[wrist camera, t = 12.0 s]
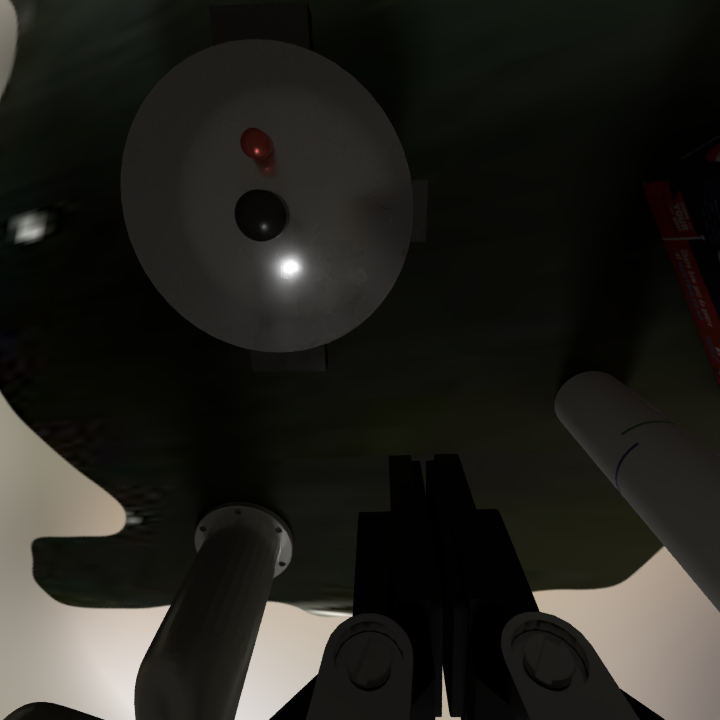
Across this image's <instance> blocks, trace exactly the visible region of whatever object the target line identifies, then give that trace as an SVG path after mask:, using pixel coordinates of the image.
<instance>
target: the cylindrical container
mask: <svg viewBox="0 0 720 720" xmlns="http://www.w3.org/2000/svg"><path fill="white" fill-rule="evenodd" d="M555 412H556V415H557V417H558V419H559V420H560V421H561V422H562V423H563V425H564V426H565V427H566V428H567V429H568V431H569V432H570V433H571V434H572V435H573V437H574V438H575V439H576V440H577V441H578V443H579V444H580V445H581V446H582V447H583V449H584V450H585V451H586V452H587V453H588V455H589V456H590V457H591V458H592V459H593V461H594V462H595V463H596V464H597V465H598V467H599V468H600V469H601V470H602V471H603V473H604V474H605V475H606V476H607V477H608V479H609V480H610V481H611V482H612V483H613V485H614V486H615V487H616V488H617V489H618V491H619V492H620V493H621V494H622V495H623V497H624V498H625V499H626V500H627V501H628V503H629V504H630V505H631V506H632V507H633V509H634V510H635V511H636V512H637V513H638V515H639V516H640V517H641V518H642V519H643V521H644V522H645V523H646V524H647V525H648V527H649V528H650V529H651V530H652V531H653V533H654V534H655V535H656V536H657V537H658V539H659V540H660V541H661V542H662V543H663V545H664V546H665V547H666V548H667V549H668V551H669V552H670V553H671V554H672V555H673V557H674V558H675V559H676V560H677V561H678V563H679V564H680V565H681V566H682V567H683V569H684V570H685V571H686V572H687V573H688V575H689V576H690V577H691V578H692V579H693V581H694V582H695V583H696V584H697V585H698V587H699V588H700V589H701V590H702V591H703V593H704V594H705V595H706V596H707V597H708V599H709V600H710V601H711V602H712V603H713V605H714V606H715V607H716V608H717V609H718V611H719V612H720V456H719V455H718V454H716V453H715V452H714V451H712V450H711V449H710V448H708V447H707V446H706V445H704V444H703V443H702V442H700V441H699V440H698V439H696V438H695V437H694V436H692V435H691V434H690V433H688V432H687V431H686V430H684V429H683V428H681V427H680V426H679V425H677V424H676V423H675V422H673V421H672V420H671V419H669V418H668V417H667V416H665V415H664V414H663V413H661V412H660V411H659V410H657V409H656V408H655V407H653V406H652V405H651V404H649V403H648V402H647V401H645V400H644V399H643V398H641V397H640V396H638V395H637V394H636V393H634V392H633V391H632V390H630V389H629V388H628V387H626V386H625V385H624V384H622V383H621V382H620V381H618V380H617V379H616V378H614V377H613V376H612V375H610V374H608V373H605V372H601V371H588V372H584V373H580V374H578V375H576V376H574V377H572V378H571V379H569V380H568V381H567V382H566V383H565V384H564V385H563V386H562V387H561V388H560V390H559V391H558V393H557V395H556V399H555Z"/></svg>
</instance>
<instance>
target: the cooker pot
mask: <svg viewBox="0 0 720 720" xmlns="http://www.w3.org/2000/svg"><path fill="white" fill-rule="evenodd" d="M209 9H210V17H211V25H212V34H213V42H214V46H215V45H219V44H222V43H226V42H229V41H237V40H246V39H263V40H275V41H280V42H285V43H290V44H295V45H297V46H300V47H303V48H305V49H308V50H311V51H313V42H312V21H311V12H310V9H309V6H308V3H307V2H300V3H276V4H251V5H227V6H209ZM411 184H412V190H413V211H414V213H413V224H412V234H411V238H410V242H413V241H426V220H427V192H428V180H411ZM250 356H251V365H252V371H326V369H327V366H328V352H327V343H326V344H323V345H321V346H318V347H315V348H311V349H306V350H301V351H294V352H280V353H279V352H262V351H257V350H251V349H250Z"/></svg>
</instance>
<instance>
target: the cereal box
mask: <svg viewBox="0 0 720 720" xmlns="http://www.w3.org/2000/svg"><path fill="white" fill-rule="evenodd" d="M641 186H642V189H643V191H644V194H645V198H646V200H647V203H648V205H649V207H650V209H651V212H652V214H653V217H654V219H655V222H656V224H657V227H658V230H659V232H660V235H661V237H662V240H663V242H664V245H665V248H666V250H667V253H668V255H669V258H670V260H671V263H672V266H673V268H674V271H675V273H676V276H677V278H678V281H679V283H680V286H681V289H682V291H683V294H684V296H685V299H686V302H687V304H688V307H689V309H690V312H691V315H692V317H693V320H694V322H695V325H696V327H697V330H698V332H699V335H700V338H701V340H702V343H703V345H704V348H705V350H706V353H707V355H708V358H709V361H710V363H711V366H712V368H713V371H714V374H715V377H716V379H717V382H718V384H719V387H720V134H719V135H717V136H715V137H714V138H712V139H710V140H709V141H707V142H705V143H704V144H702V145H700V146H698V147H697V148H695V149H693V150H692V151H690V152H689V153H687V154H685V155H684V156H682V157H680V158H679V159H677V160H675V161H674V162H672V163H670V164H669V165H667V166H665V167H664V168H662V169H660V170H659V171H657V172H655V173H654V174H652V175H651V176H650V177H648V178H646V179H645V180H644V181H643V182H642V184H641Z"/></svg>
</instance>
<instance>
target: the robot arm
mask: <svg viewBox="0 0 720 720" xmlns="http://www.w3.org/2000/svg"><path fill="white" fill-rule="evenodd" d="M389 476H390V500H391V511H388V512H359V516H358V532H357V550H356V567H355V584H354V602H353V617H350V618H349V619H347V620H346V621H344V622H343V623H341V624H340V625H339V626H338V627H337V628H336V629H335V630H334V632H333V633H332V634H331V635H330V638H329V640H328V642H327V644H326V647H325V650H324V654H323V658H322V661H321V665H320V669H319V673H318V674H317V675H316V676H315V677H314V678H313V679H312V680H311V681H310V682H309V683H308V684H307V685H306V686H305V687H303V688H302V690H300V691H299V692H298V693H297V694H296V695H295V696H294V697H293V698H292V699H291V700H290V701H289V702H288V703H286V704H285V705H284V706H283V707H282V708H281V709H280V710H279V711H278V712H277V713H276V714H275V715H274V716H273V717H272V718H270V719H269V720H435V717H441V716H442V665H443V672H444V679H445V686H446V693H447V700H448V707H449V712H450V716H451V717H461V720H664V719H663V718H662V717H661V716H659V715H658V714H656V713H655V712H653V711H652V710H650V709H649V708H647V707H646V706H645V705H643V704H642V703H640V702H639V701H637V700H636V699H634V698H633V697H631V696H630V695H628V694H627V693H626V692H624V691H623V690H621V689H619V687H618V685H617V684H616V682H615V681H614V679H613V678H612V676H611V674H610V673H609V672H608V670H607V668H606V667H605V665H604V664H603V662H602V661H601V659H600V658H599V656H598V654H597V653H596V651H595V650H594V648H593V647H592V645H591V644H590V643H589V642H588V640H587V639H586V638H585V637H584V636H583V635H582V633H581V632H579V631H578V630H577V629H576V628H574V627H573V626H572V625H571V624H569V623H568V622H566V621H564V620H562V619H560V618H558V617H556V616H554V615H549V614H546V613H542V612H539V609H538V607H537V604H536V601H535V599H534V596H533V594H532V591H531V589H530V586H529V584H528V581H527V579H526V576H525V574H524V572H523V569H522V567H521V564H520V562H519V559H518V557H517V554H516V552H515V549H514V547H513V544H512V542H511V539H510V537H509V534H508V532H507V529H506V527H505V524H504V522H503V519H502V517H501V515H500V513H499V511H498V510H497V509H476V507H475V504H474V501H473V498H472V495H471V492H470V489H469V486H468V483H467V480H466V477H465V474H464V471H463V468H462V465H461V461H460V458H459V456H458V454H435V456H434V461H426V494H425V488H424V482H423V477H422V471H421V465H420V461H411V455H400V456H389ZM194 542H195V547H196V550H197V555H196V557H195V559H194V561H193V563H192V565H191V567H190V569H189V571H188V573H187V575H186V577H185V579H184V580H183V582H182V584H181V586H180V588H179V590H178V592H177V594H176V596H175V598H174V600H173V602H172V604H171V606H170V608H169V610H168V612H167V613H166V616H165V617H164V619H163V621H162V623H161V625H160V627H159V629H158V631H157V633H156V635H155V637H154V639H153V641H152V643H151V645H150V647H149V649H148V651H147V653H146V654H145V657H144V659H143V661H142V663H141V665H140V668H139V671H138V675H137V679H136V685H135V699H134V700H135V701H134V705H135V717H136V720H234V719H235V715H236V711H237V707H238V703H239V700H240V696H241V692H242V689H243V685H244V682H245V678H246V674H247V671H248V667H249V663H250V660H251V656H252V653H253V649H254V645H255V642H256V638H257V635H258V631H259V627H260V624H261V620H262V617H263V613H264V610H265V606H266V602H267V599H268V595H269V592H270V588H271V584H272V581H273V578H274V577H276V576H278V575H279V574H281V573H282V572H283V571H284V570H285V569H286V568H287V566H288V564H289V563H290V561H291V557H292V554H293V548H294V542H293V536H292V534H291V531H290V529H289V527H288V526H287V524H286V523H285V522H284V521H283V520H282V519H281V517H279V516H278V515H277V514H275V513H274V512H273V511H271V510H269V509H267V508H265V507H263V506H260V505H257V504H254V503H249V502H228V503H225V504H221V505H218V506H216V507H214V508H212V509H211V510H210V511H208V512H207V513H206V514H205V515H204V516H203V518H202V519H201V521H200V522H199V524H198V526H197V528H196V532H195V538H194ZM4 720H103V719H101V718H98V717H95V716H92V715H89V714H86V713H83V712H80V711H77V710H74V709H71V708H68V707H65V706H61V705H58V704H54V703H48V702H35V703H30V704H27V705H24V706H22V707H20V708H18V709H16V710H15V711H13V712H12V713H11V714H9V715H8V716H7V717H6V718H5V719H4Z"/></svg>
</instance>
